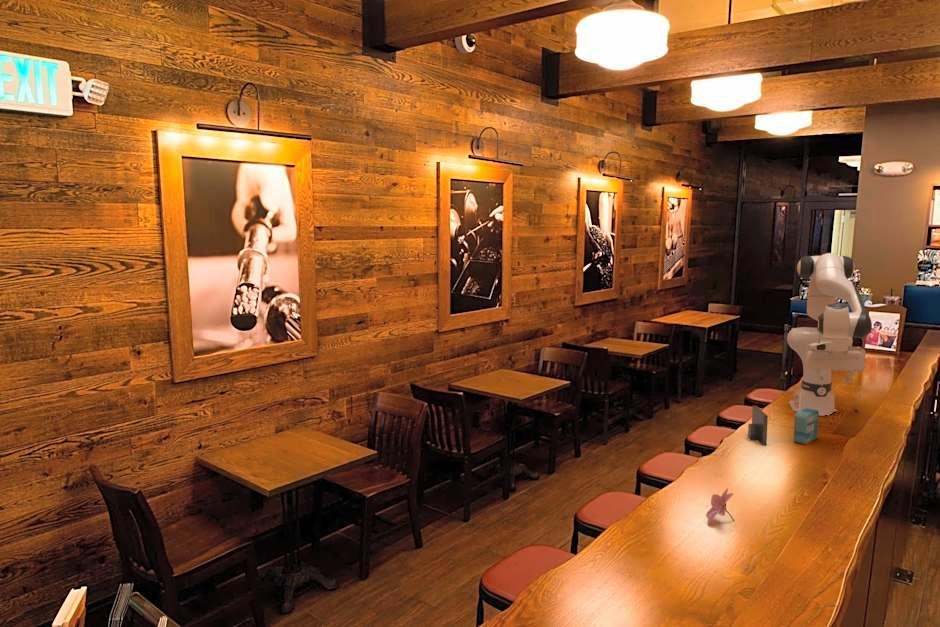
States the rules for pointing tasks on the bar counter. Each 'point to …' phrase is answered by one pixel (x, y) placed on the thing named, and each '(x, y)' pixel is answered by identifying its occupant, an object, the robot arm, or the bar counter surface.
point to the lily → (718, 505)
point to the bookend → (758, 426)
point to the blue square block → (806, 426)
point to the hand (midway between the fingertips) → (833, 381)
